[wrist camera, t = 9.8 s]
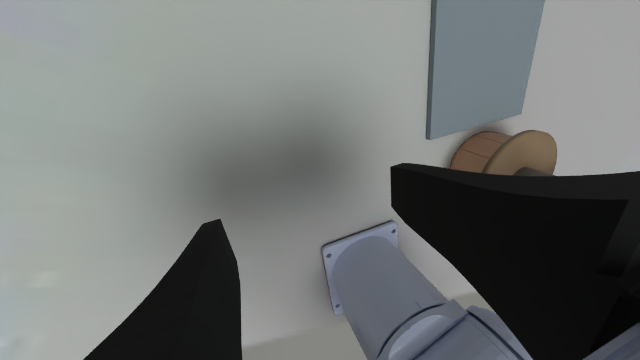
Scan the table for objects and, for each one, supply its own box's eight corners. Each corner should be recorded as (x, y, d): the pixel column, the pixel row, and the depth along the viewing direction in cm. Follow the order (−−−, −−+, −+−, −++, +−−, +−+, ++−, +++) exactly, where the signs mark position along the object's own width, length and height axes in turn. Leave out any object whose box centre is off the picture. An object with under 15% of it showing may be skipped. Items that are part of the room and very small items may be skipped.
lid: (536, 205, 26) (593, 229, 22) (468, 234, 24) (518, 267, 20) (560, 119, 22) (634, 129, 18) (481, 145, 20) (545, 163, 16)
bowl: (494, 184, 29) (531, 200, 25) (445, 202, 27) (477, 222, 24) (505, 124, 26) (549, 133, 22) (450, 141, 24) (489, 152, 21)
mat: (516, 113, 25) (521, 113, 25) (426, 138, 23) (430, 140, 22) (542, -22, 21) (549, -24, 20) (432, -10, 18) (437, -12, 17)
